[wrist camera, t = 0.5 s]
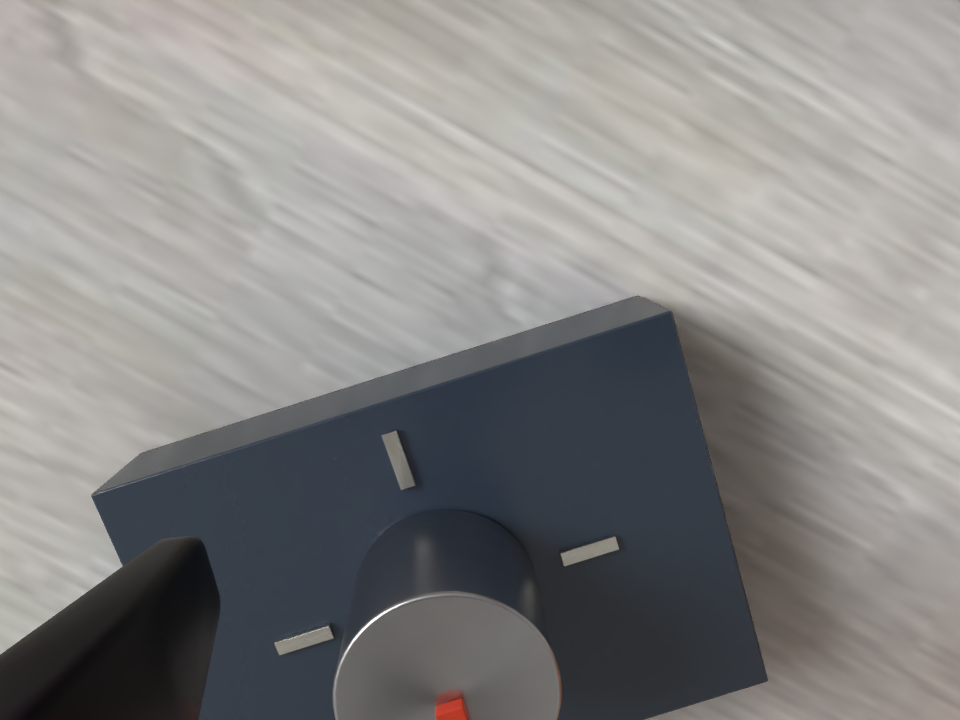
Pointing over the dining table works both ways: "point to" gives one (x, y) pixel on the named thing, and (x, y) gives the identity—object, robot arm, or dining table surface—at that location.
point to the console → (475, 489)
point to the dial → (447, 628)
